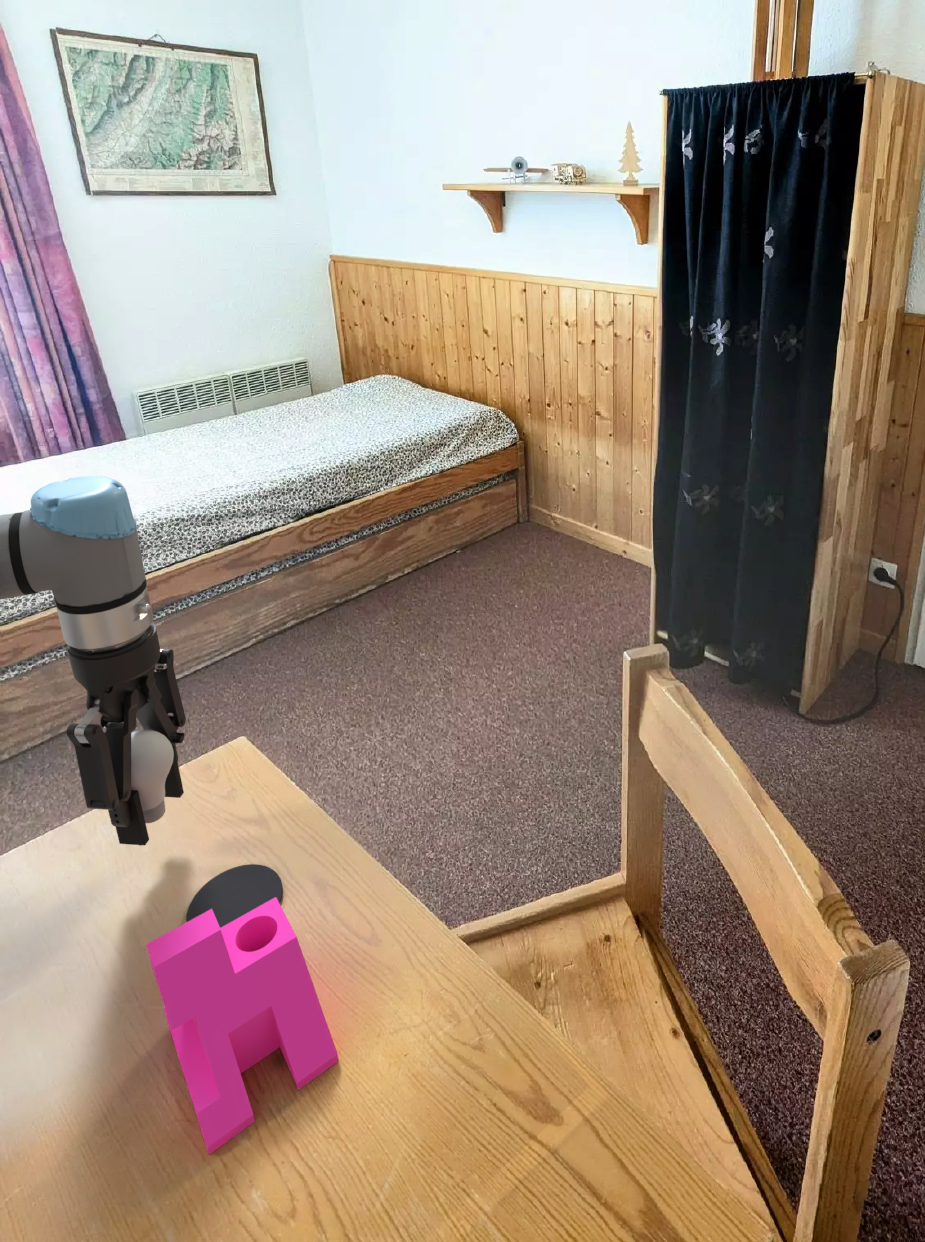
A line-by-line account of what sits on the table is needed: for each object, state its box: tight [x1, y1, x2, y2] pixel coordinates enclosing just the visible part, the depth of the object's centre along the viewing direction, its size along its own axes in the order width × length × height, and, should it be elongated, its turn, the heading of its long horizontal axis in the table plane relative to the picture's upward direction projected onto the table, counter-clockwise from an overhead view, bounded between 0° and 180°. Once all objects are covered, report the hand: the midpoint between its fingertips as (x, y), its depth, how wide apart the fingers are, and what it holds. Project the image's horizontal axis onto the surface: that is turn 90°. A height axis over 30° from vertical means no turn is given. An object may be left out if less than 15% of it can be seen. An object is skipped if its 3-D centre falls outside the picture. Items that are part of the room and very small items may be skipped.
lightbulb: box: [131, 729, 174, 824], centre depth 81 cm, size 6×6×11 cm
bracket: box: [145, 897, 339, 1155], centre depth 64 cm, size 12×10×10 cm
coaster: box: [185, 863, 284, 928], centre depth 78 cm, size 9×9×1 cm
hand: (152, 816), depth 83 cm, fingers closed on lightbulb, 6 cm apart
